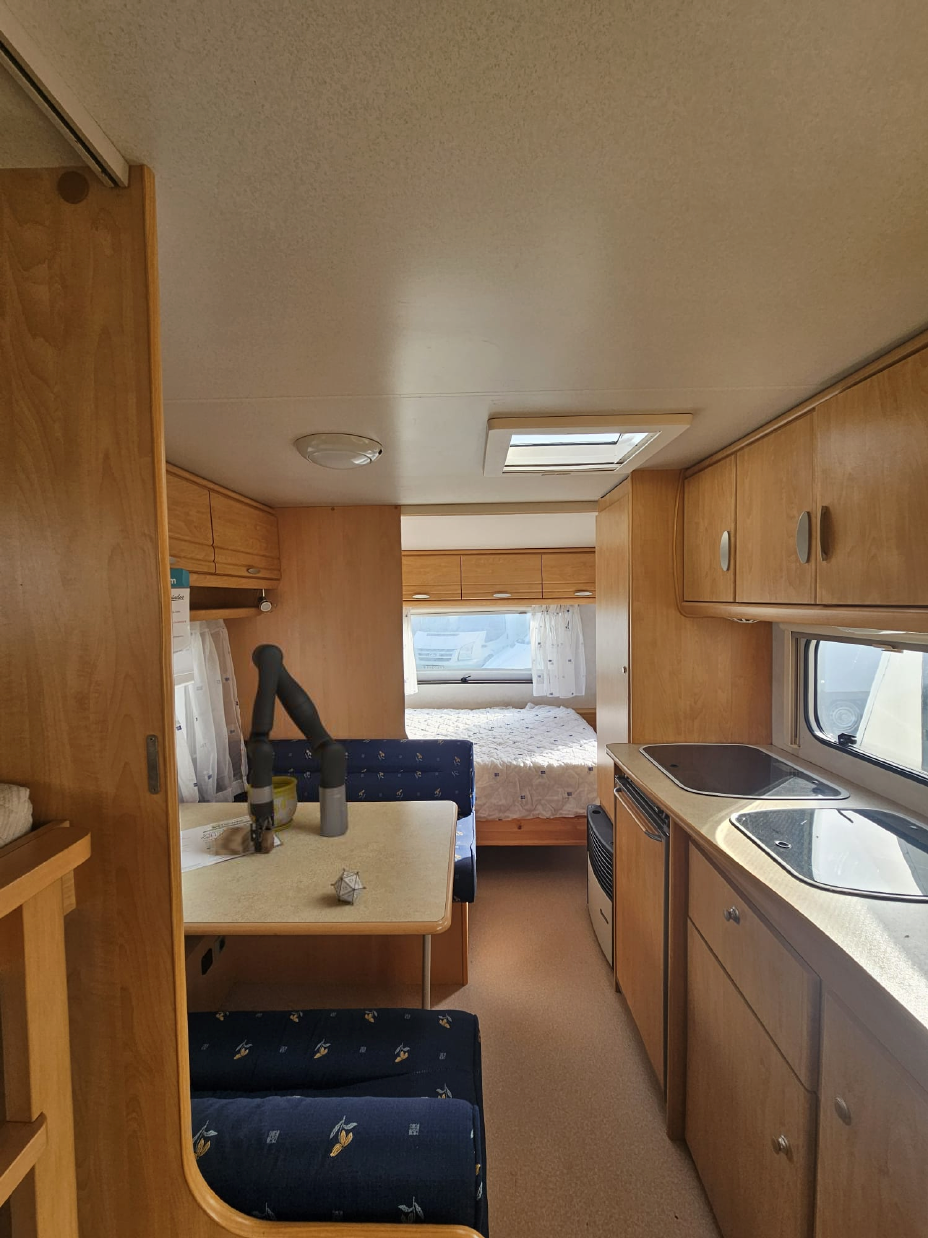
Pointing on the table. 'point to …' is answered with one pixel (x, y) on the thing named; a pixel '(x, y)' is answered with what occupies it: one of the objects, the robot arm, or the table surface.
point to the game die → (348, 886)
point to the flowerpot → (281, 802)
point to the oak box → (233, 841)
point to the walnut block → (267, 842)
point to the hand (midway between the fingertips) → (263, 846)
